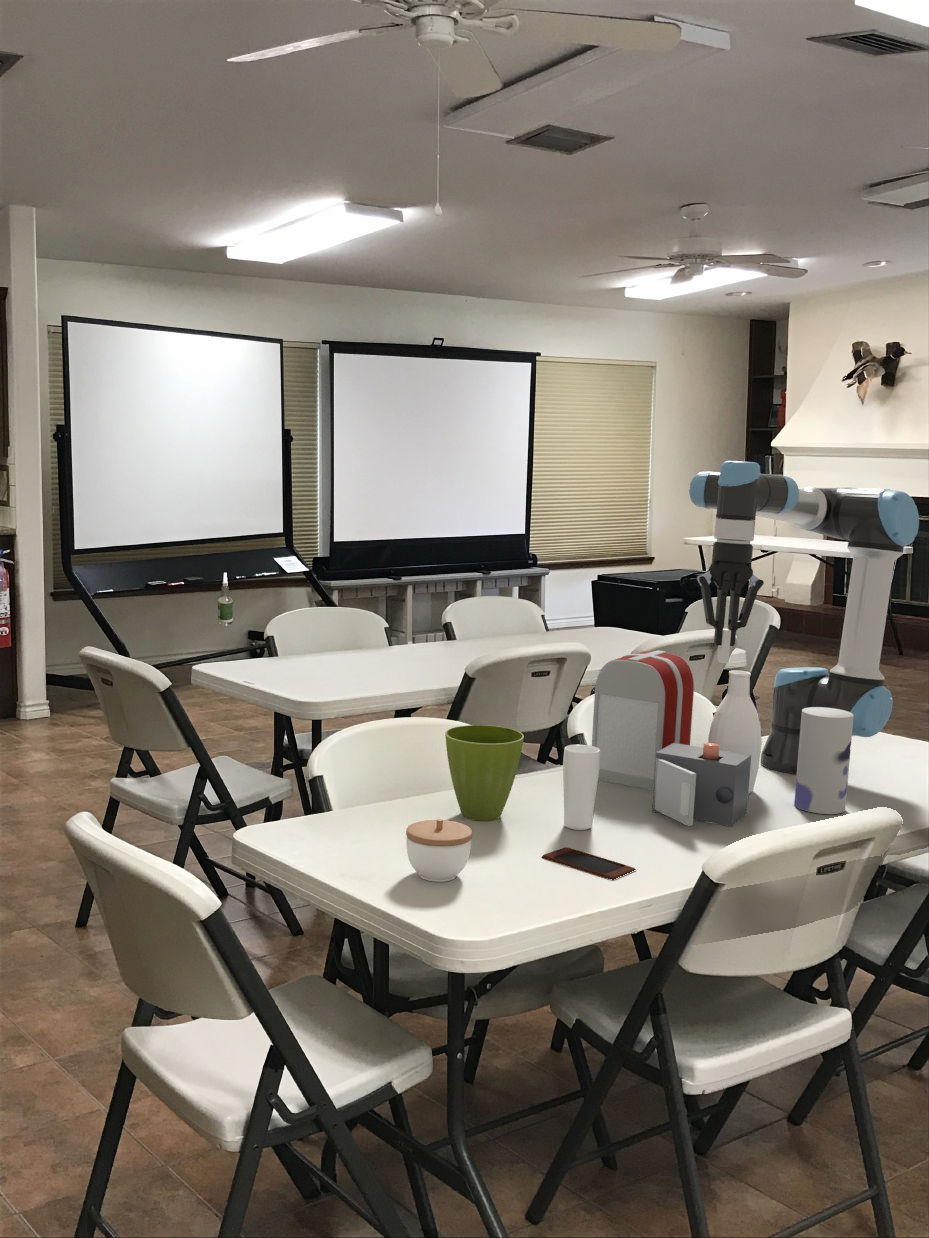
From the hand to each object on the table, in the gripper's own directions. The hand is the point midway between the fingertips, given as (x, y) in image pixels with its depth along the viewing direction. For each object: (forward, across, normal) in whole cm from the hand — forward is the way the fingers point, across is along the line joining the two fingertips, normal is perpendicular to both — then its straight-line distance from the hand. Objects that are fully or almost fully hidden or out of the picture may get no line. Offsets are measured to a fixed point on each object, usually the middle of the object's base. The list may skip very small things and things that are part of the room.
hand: (722, 662), depth 233 cm
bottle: (+30, -9, -17) cm, 35 cm away
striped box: (+30, +9, -26) cm, 41 cm away
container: (+30, -24, -5) cm, 39 cm away
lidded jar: (+32, +55, +40) cm, 75 cm away
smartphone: (+32, +29, +32) cm, 54 cm away
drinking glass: (+31, +28, +12) cm, 43 cm away
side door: (+29, +10, +7) cm, 32 cm away
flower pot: (+31, +46, +6) cm, 56 cm away
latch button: (+18, +2, +4) cm, 19 cm away
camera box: (+30, +2, +1) cm, 30 cm away
